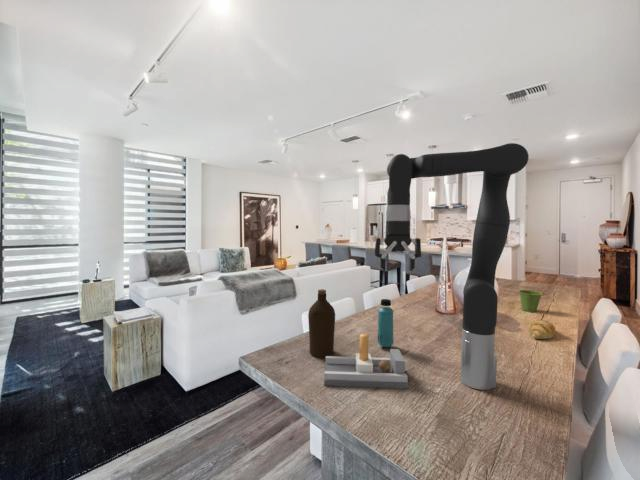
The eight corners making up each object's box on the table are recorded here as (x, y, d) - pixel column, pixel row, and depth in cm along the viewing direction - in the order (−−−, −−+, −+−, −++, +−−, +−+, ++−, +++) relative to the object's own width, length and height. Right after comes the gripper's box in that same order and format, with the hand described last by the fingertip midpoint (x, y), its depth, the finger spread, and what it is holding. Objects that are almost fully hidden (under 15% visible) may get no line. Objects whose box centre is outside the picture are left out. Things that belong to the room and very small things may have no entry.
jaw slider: (369, 364, 104) (370, 330, 103) (372, 377, 95) (373, 340, 95) (355, 364, 104) (355, 330, 103) (357, 376, 95) (357, 340, 95)
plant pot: (523, 313, 173) (524, 293, 172) (513, 307, 184) (514, 289, 184) (546, 314, 171) (547, 294, 170) (534, 308, 182) (535, 290, 182)
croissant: (542, 350, 130) (553, 336, 126) (519, 333, 136) (529, 320, 133) (554, 337, 144) (564, 325, 140) (532, 323, 150) (542, 311, 147)
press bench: (398, 366, 106) (398, 346, 106) (407, 388, 92) (408, 364, 92) (325, 364, 107) (325, 344, 107) (324, 385, 93) (324, 362, 93)
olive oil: (335, 358, 112) (336, 293, 111) (307, 358, 112) (307, 293, 111) (334, 347, 123) (334, 287, 121) (308, 347, 123) (309, 287, 122)
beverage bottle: (396, 347, 123) (397, 299, 122) (388, 352, 118) (388, 302, 117) (382, 342, 128) (383, 296, 127) (374, 347, 123) (374, 299, 122)
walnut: (389, 369, 101) (389, 357, 101) (391, 375, 97) (392, 363, 97) (377, 368, 101) (378, 357, 101) (379, 374, 97) (379, 362, 97)
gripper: (417, 220, 98) (416, 269, 99) (374, 219, 99) (373, 268, 99) (424, 219, 90) (423, 272, 91) (377, 219, 91) (376, 271, 92)
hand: (397, 270), depth 95 cm, fingers open, 8 cm apart
